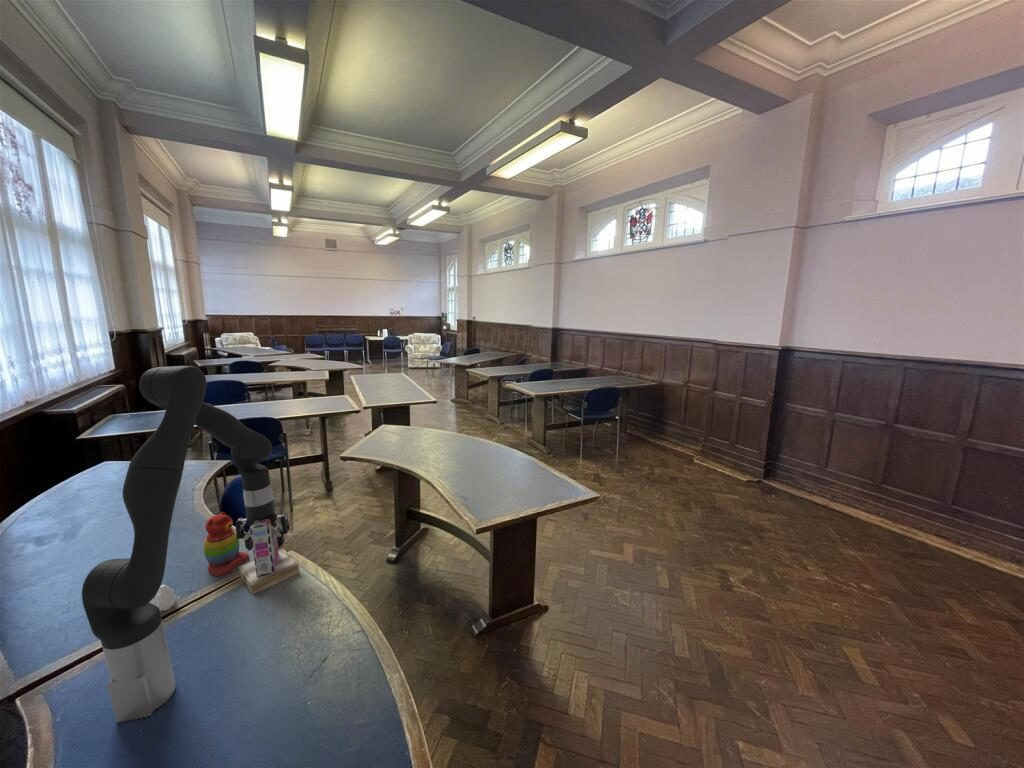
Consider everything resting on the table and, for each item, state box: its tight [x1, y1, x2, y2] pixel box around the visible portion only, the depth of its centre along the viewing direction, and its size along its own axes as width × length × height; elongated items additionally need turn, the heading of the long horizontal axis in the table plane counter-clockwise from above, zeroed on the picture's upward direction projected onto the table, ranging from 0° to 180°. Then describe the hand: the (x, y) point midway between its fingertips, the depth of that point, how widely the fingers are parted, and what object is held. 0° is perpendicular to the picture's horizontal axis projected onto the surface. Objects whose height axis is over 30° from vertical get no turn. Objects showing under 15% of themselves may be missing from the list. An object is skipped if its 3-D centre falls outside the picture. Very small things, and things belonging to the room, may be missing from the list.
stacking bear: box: [203, 511, 250, 577], centre depth 130 cm, size 11×10×18 cm
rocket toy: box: [149, 583, 182, 611], centre depth 112 cm, size 5×5×8 cm
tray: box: [238, 547, 300, 595], centre depth 127 cm, size 13×13×3 cm
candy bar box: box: [249, 519, 279, 577], centre depth 125 cm, size 11×5×16 cm, turn 24°
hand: (265, 547), depth 125 cm, fingers open, 8 cm apart
